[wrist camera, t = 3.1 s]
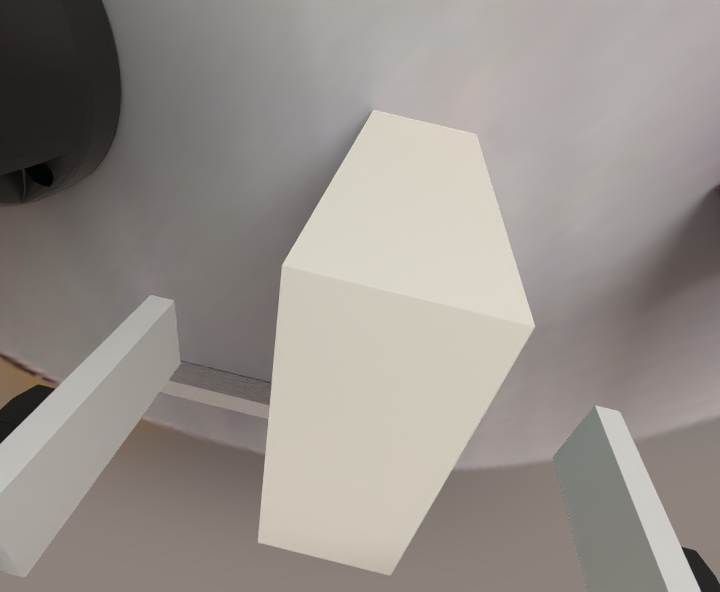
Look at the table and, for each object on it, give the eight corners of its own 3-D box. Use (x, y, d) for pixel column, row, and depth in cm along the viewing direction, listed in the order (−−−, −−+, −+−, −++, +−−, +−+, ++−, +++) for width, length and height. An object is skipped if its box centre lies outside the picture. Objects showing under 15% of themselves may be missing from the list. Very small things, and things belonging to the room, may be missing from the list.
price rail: (117, 363, 30) (101, 382, 29) (112, 344, 29) (95, 362, 27) (386, 430, 30) (383, 451, 28) (392, 413, 29) (389, 435, 27)
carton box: (335, 308, 24) (257, 542, 14) (373, 109, 18) (281, 265, 7) (412, 327, 24) (395, 576, 14) (479, 134, 18) (543, 328, 7)
